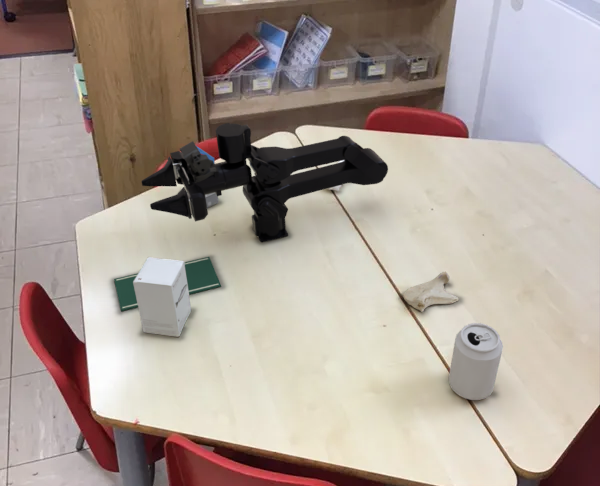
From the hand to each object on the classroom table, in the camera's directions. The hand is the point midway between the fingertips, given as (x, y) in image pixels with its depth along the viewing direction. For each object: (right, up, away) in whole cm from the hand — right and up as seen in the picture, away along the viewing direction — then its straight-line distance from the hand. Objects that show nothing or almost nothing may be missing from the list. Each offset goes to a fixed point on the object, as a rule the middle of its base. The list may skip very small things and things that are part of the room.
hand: (146, 194), depth 133 cm
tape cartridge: (+7, 0, +29) cm, 29 cm away
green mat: (+4, -18, +3) cm, 19 cm away
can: (+59, -33, -19) cm, 71 cm away
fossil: (+57, -20, -1) cm, 60 cm away
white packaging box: (+5, -24, -5) cm, 26 cm away
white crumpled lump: (+28, +2, +25) cm, 38 cm away
